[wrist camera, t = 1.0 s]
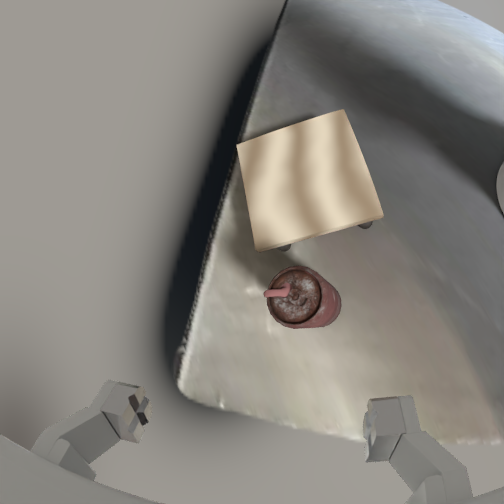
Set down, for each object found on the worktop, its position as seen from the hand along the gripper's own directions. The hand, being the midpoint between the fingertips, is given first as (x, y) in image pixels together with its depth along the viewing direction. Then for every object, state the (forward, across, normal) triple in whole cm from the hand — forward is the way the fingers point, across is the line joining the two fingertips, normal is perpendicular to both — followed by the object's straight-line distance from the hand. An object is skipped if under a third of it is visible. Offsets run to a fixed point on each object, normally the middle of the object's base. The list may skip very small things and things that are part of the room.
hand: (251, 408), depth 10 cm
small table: (+39, -3, +3) cm, 39 cm away
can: (+30, -3, +16) cm, 34 cm away
